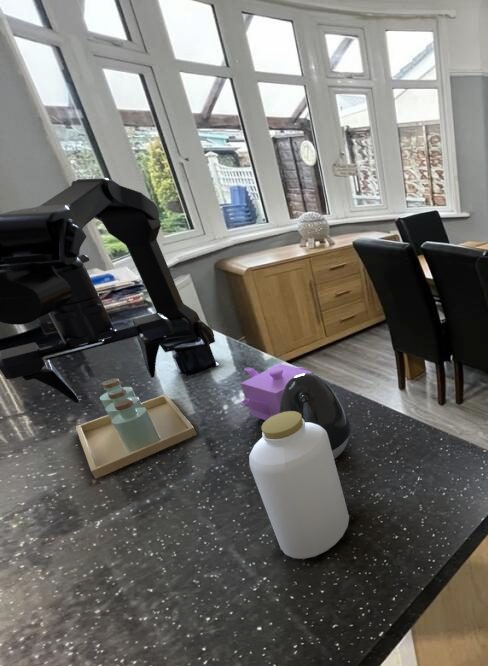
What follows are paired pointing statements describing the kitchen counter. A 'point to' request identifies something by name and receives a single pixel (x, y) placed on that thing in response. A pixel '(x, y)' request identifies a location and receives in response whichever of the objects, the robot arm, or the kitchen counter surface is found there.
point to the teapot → (267, 389)
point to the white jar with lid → (299, 485)
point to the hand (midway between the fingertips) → (116, 388)
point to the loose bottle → (134, 426)
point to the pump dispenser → (317, 408)
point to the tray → (108, 448)
